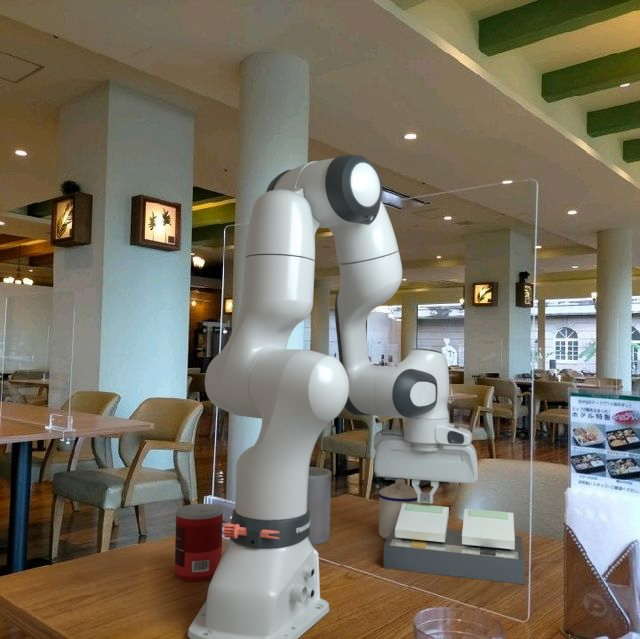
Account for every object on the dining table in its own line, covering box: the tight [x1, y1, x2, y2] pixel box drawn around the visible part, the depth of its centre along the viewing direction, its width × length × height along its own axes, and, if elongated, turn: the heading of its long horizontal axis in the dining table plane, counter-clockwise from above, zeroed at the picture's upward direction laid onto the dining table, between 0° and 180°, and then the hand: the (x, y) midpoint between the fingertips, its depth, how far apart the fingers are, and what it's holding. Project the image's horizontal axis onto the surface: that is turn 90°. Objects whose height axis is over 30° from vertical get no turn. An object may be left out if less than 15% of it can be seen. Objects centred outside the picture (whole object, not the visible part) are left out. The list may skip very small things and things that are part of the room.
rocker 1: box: [395, 503, 450, 542], centre depth 118 cm, size 10×9×2 cm
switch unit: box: [383, 525, 526, 585], centre depth 115 cm, size 14×24×5 cm, turn 74°
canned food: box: [174, 503, 224, 583], centre depth 108 cm, size 8×8×11 cm
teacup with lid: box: [377, 478, 422, 540], centre depth 132 cm, size 12×9×12 cm
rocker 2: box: [462, 508, 516, 550], centre depth 115 cm, size 10×9×2 cm
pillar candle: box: [307, 465, 332, 546], centre depth 128 cm, size 10×10×15 cm
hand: (425, 502), depth 122 cm, fingers closed
